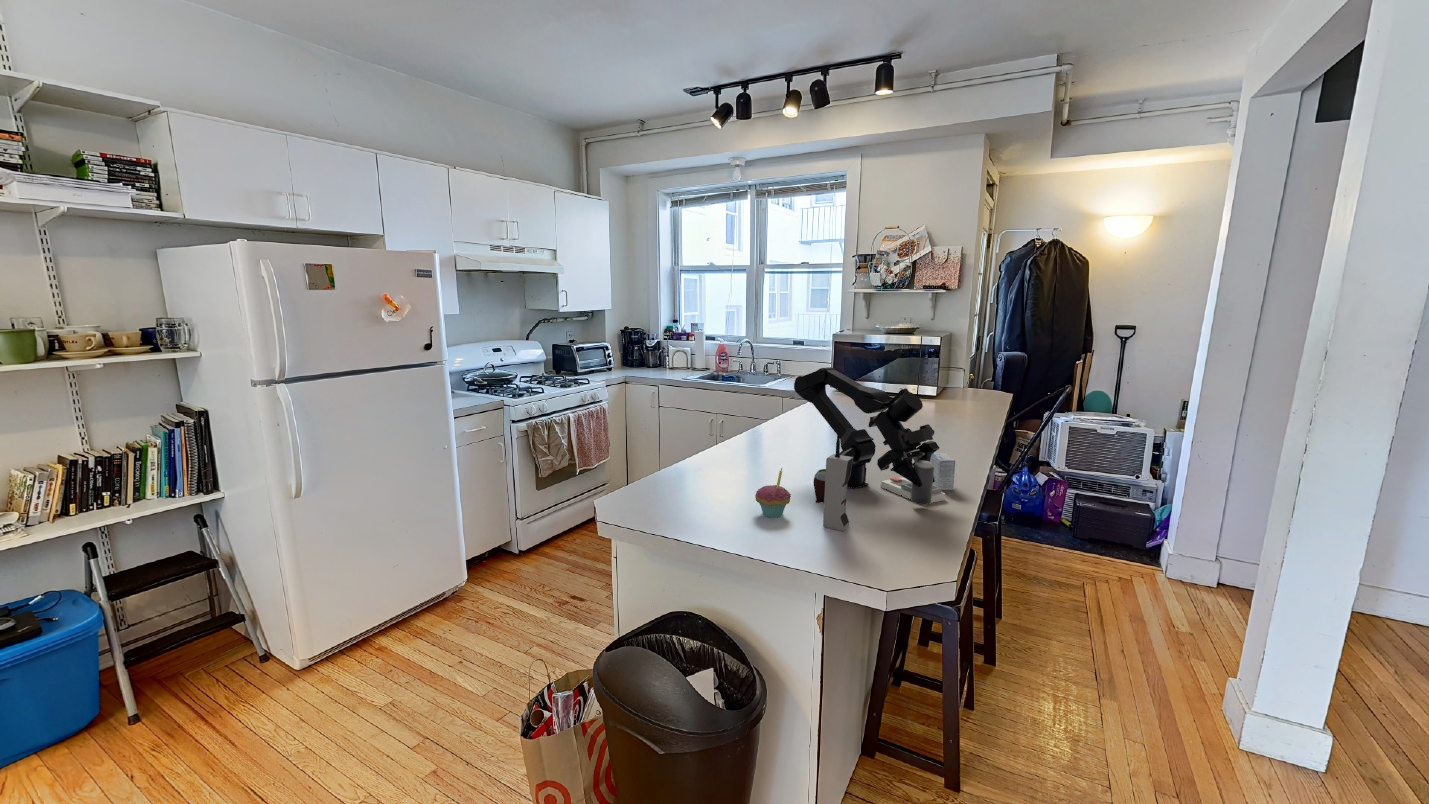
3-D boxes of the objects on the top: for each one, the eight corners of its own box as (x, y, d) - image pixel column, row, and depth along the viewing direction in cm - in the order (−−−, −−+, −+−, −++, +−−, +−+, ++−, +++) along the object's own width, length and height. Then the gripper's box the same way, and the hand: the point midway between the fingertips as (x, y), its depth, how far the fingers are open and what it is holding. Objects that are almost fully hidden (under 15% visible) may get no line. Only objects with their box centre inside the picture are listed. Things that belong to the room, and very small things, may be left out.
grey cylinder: (915, 504, 141) (918, 465, 139) (907, 497, 146) (910, 459, 144) (934, 504, 141) (937, 465, 140) (925, 497, 146) (929, 459, 144)
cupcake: (793, 510, 141) (794, 463, 139) (785, 523, 133) (787, 473, 131) (759, 506, 144) (760, 460, 142) (750, 518, 136) (751, 469, 134)
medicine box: (953, 490, 157) (956, 460, 156) (937, 490, 157) (940, 460, 156) (942, 481, 165) (945, 452, 163) (927, 481, 165) (929, 452, 164)
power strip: (922, 504, 146) (923, 493, 146) (881, 487, 159) (881, 477, 159) (944, 500, 150) (945, 489, 149) (902, 483, 163) (902, 473, 162)
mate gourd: (808, 498, 150) (810, 443, 147) (834, 495, 152) (837, 440, 150) (821, 508, 143) (824, 450, 140) (849, 505, 146) (852, 448, 143)
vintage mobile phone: (843, 532, 129) (849, 424, 124) (822, 527, 131) (828, 421, 127) (849, 526, 132) (855, 421, 127) (828, 522, 134) (834, 418, 130)
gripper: (890, 418, 137) (926, 474, 131) (936, 410, 148) (971, 462, 141) (862, 443, 145) (895, 497, 138) (907, 433, 156) (940, 483, 149)
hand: (927, 484), depth 142 cm, fingers closed on grey cylinder, 5 cm apart
